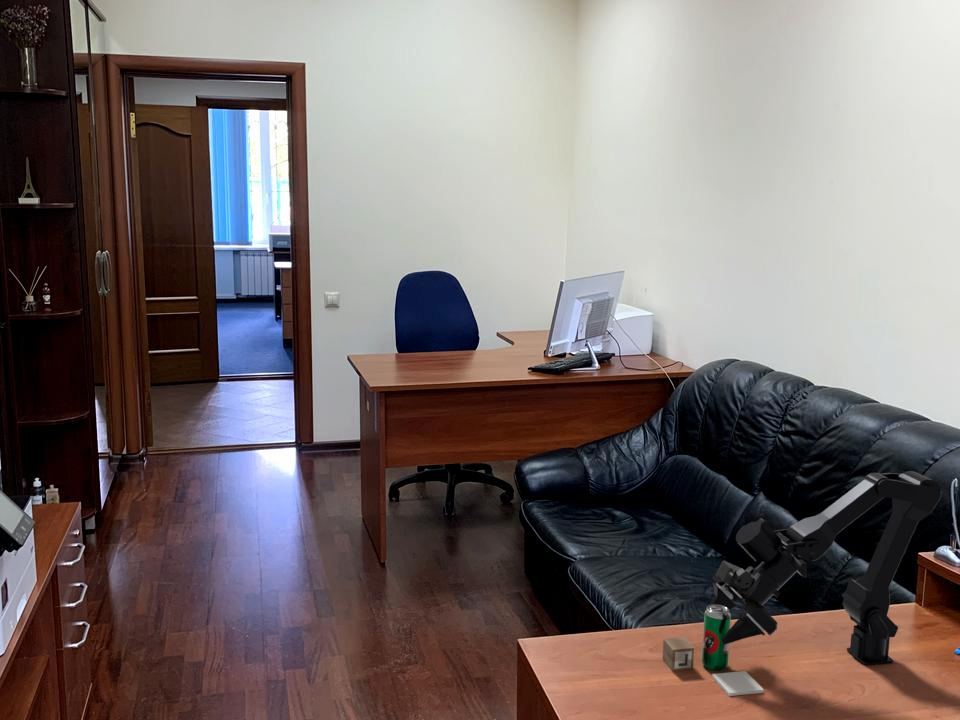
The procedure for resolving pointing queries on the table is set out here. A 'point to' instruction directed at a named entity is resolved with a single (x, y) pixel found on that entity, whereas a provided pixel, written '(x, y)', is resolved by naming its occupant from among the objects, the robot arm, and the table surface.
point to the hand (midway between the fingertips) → (713, 631)
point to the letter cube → (678, 654)
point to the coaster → (737, 683)
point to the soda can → (715, 637)
